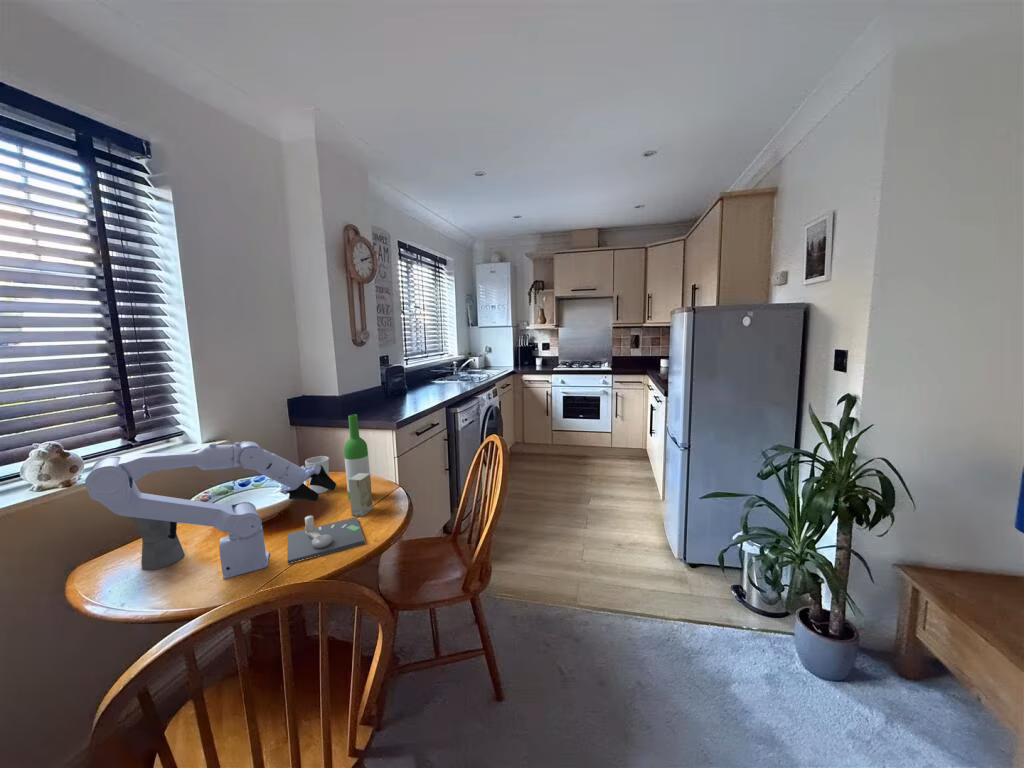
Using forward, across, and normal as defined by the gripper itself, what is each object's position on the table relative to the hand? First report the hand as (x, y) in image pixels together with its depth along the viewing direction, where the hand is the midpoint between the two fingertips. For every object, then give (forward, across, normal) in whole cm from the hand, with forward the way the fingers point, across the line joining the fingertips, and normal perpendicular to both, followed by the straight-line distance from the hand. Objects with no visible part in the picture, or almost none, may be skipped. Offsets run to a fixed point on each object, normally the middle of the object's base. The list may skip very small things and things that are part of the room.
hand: (326, 492), depth 115 cm
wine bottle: (+21, +15, -15) cm, 30 cm away
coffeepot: (-18, +37, +13) cm, 43 cm away
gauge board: (+8, +7, +8) cm, 14 cm away
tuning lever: (+5, +8, +9) cm, 13 cm away
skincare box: (+19, +8, -6) cm, 21 cm away
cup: (+15, +32, -23) cm, 42 cm away
